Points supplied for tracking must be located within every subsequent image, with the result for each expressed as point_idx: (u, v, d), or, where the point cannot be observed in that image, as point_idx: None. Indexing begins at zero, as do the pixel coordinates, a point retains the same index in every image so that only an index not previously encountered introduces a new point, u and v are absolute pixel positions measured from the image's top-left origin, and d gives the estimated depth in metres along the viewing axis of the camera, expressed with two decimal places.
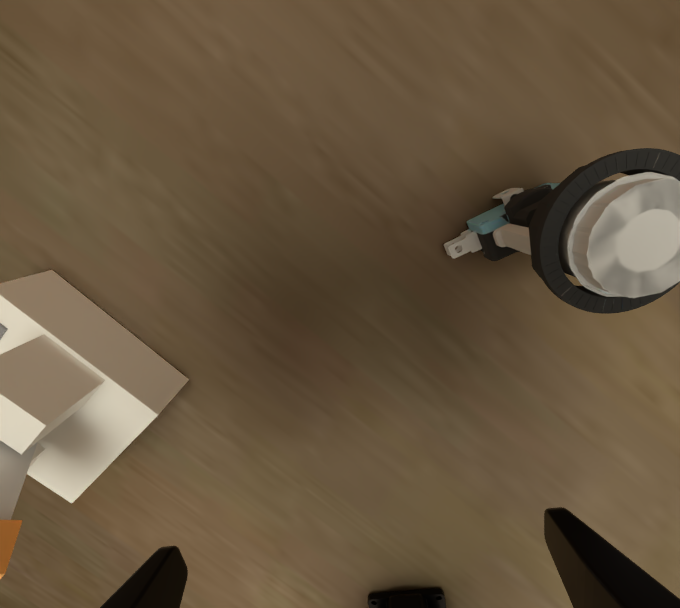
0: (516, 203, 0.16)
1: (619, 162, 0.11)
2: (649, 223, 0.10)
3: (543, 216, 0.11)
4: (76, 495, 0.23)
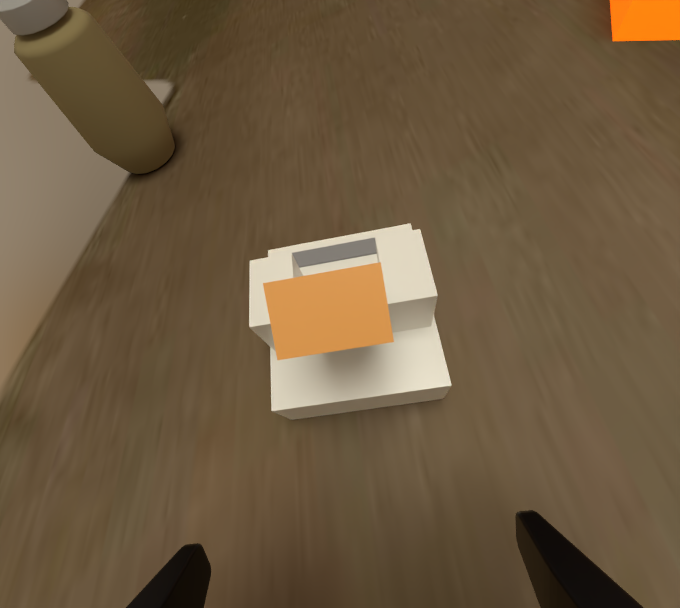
0: None
1: None
2: None
3: None
4: (286, 406, 0.19)
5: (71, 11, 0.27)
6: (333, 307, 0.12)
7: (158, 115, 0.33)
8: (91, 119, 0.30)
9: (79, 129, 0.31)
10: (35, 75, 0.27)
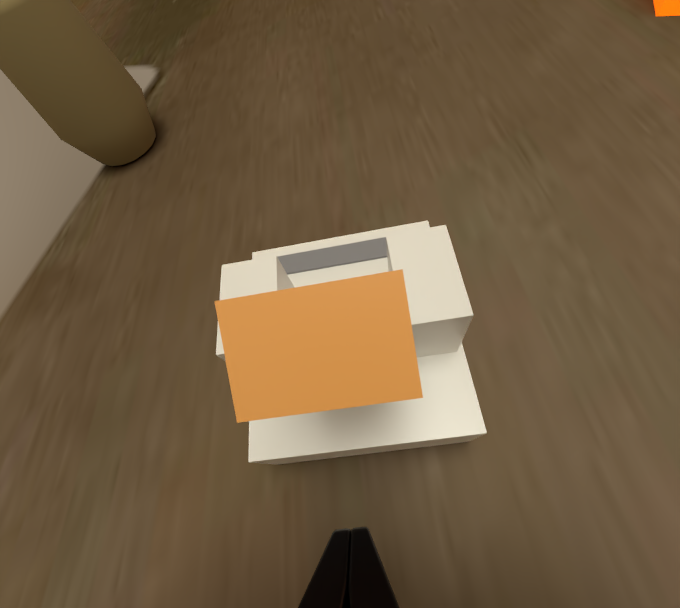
0: None
1: None
2: None
3: None
4: (268, 455, 0.15)
5: None
6: (327, 340, 0.08)
7: (133, 98, 0.29)
8: (51, 99, 0.25)
9: (40, 112, 0.27)
10: None
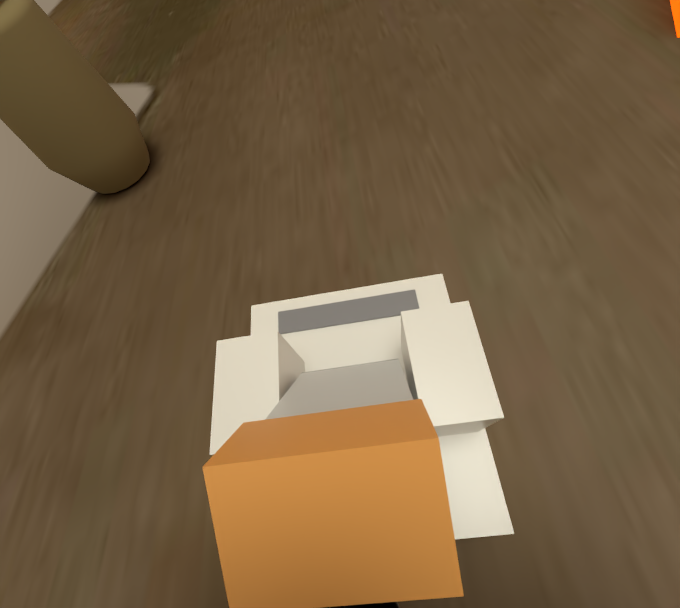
0: None
1: None
2: None
3: None
4: None
5: None
6: (342, 520, 0.06)
7: (125, 125, 0.27)
8: (37, 130, 0.24)
9: (26, 142, 0.25)
10: None
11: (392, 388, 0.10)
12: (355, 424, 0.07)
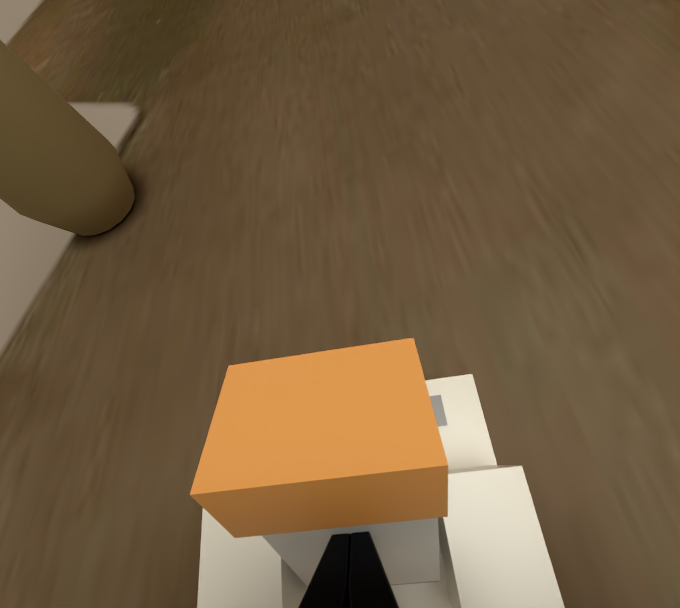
0: None
1: None
2: None
3: None
4: None
5: None
6: (329, 397, 0.07)
7: (104, 164, 0.24)
8: (1, 179, 0.21)
9: None
10: None
11: None
12: None
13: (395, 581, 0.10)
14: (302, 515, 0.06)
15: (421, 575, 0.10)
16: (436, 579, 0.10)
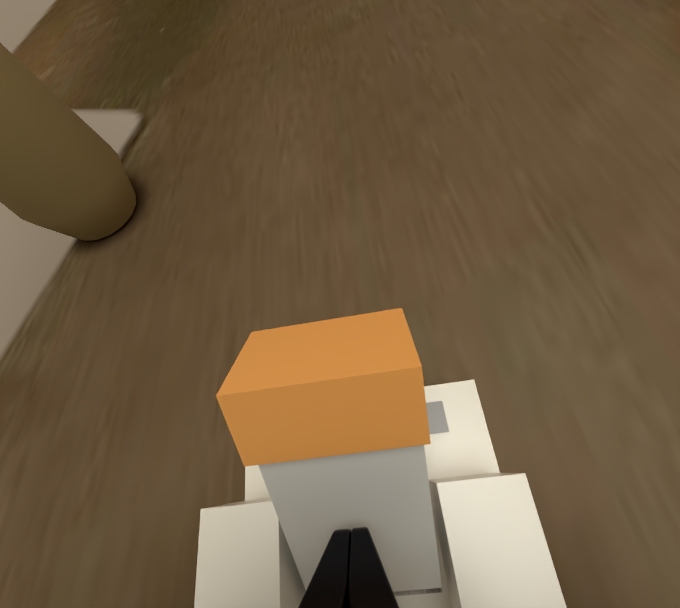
0: None
1: None
2: None
3: None
4: None
5: None
6: (331, 341, 0.08)
7: (106, 170, 0.24)
8: (3, 184, 0.21)
9: None
10: None
11: None
12: None
13: (395, 585, 0.10)
14: (304, 433, 0.07)
15: (421, 575, 0.10)
16: (437, 585, 0.10)
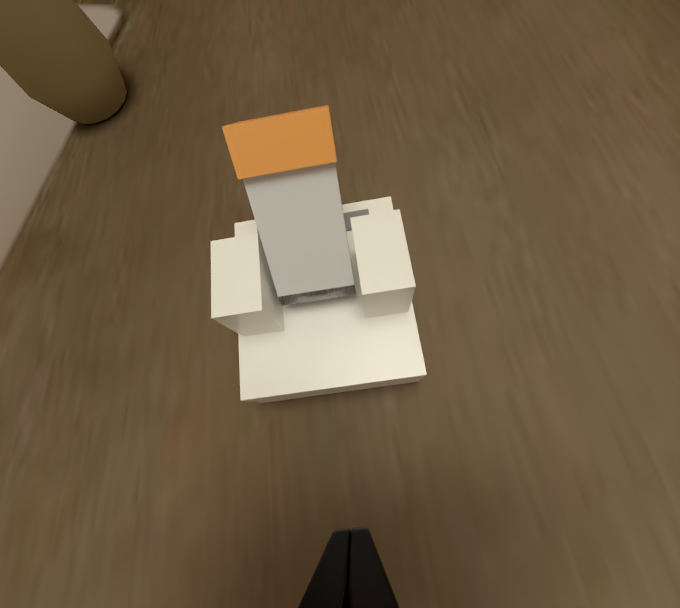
0: None
1: None
2: None
3: None
4: (256, 395, 0.19)
5: None
6: (285, 113, 0.15)
7: (102, 53, 0.28)
8: (18, 57, 0.25)
9: (5, 68, 0.26)
10: None
11: None
12: None
13: (327, 283, 0.18)
14: (270, 153, 0.14)
15: (341, 274, 0.17)
16: (351, 282, 0.18)
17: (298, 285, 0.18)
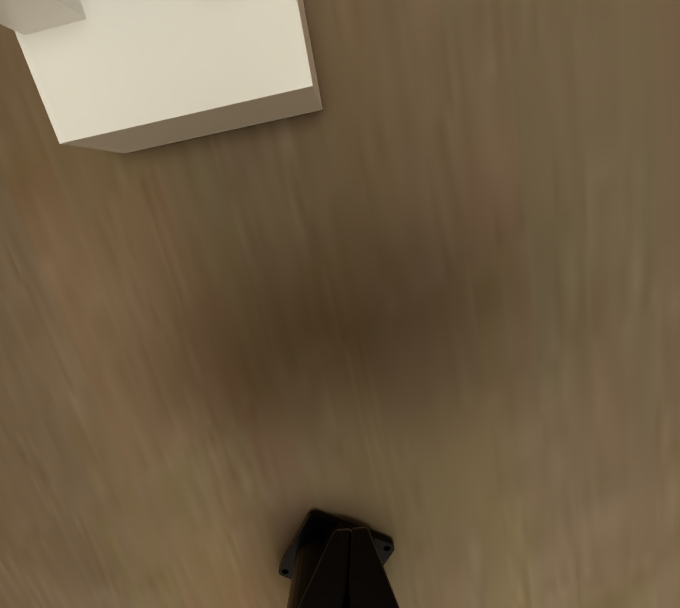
0: None
1: None
2: None
3: None
4: (79, 134, 0.13)
5: None
6: None
7: None
8: None
9: None
10: None
11: None
12: None
13: None
14: None
15: None
16: None
17: None
